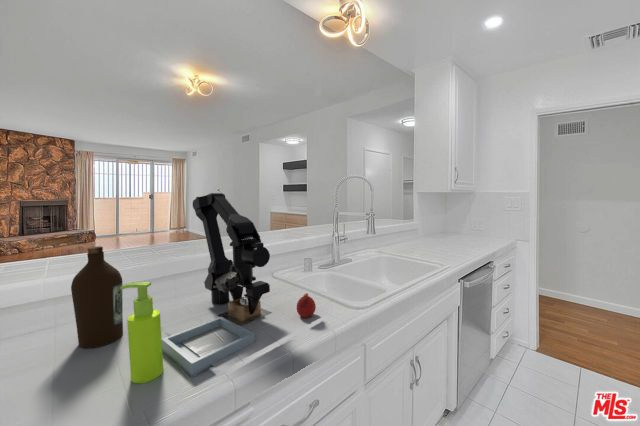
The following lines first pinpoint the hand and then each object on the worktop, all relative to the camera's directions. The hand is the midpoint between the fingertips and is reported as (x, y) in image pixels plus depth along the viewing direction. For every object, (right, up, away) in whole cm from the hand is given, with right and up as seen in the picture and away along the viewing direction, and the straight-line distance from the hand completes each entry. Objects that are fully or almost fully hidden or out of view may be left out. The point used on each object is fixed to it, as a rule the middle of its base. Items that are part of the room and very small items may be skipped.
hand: (244, 310), depth 87 cm
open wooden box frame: (0, -1, 0) cm, 1 cm away
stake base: (0, -2, 0) cm, 2 cm away
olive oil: (-35, -4, -12) cm, 37 cm away
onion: (+19, -2, -2) cm, 20 cm away
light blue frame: (-4, -3, -17) cm, 18 cm away
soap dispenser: (-14, -4, -27) cm, 31 cm away
